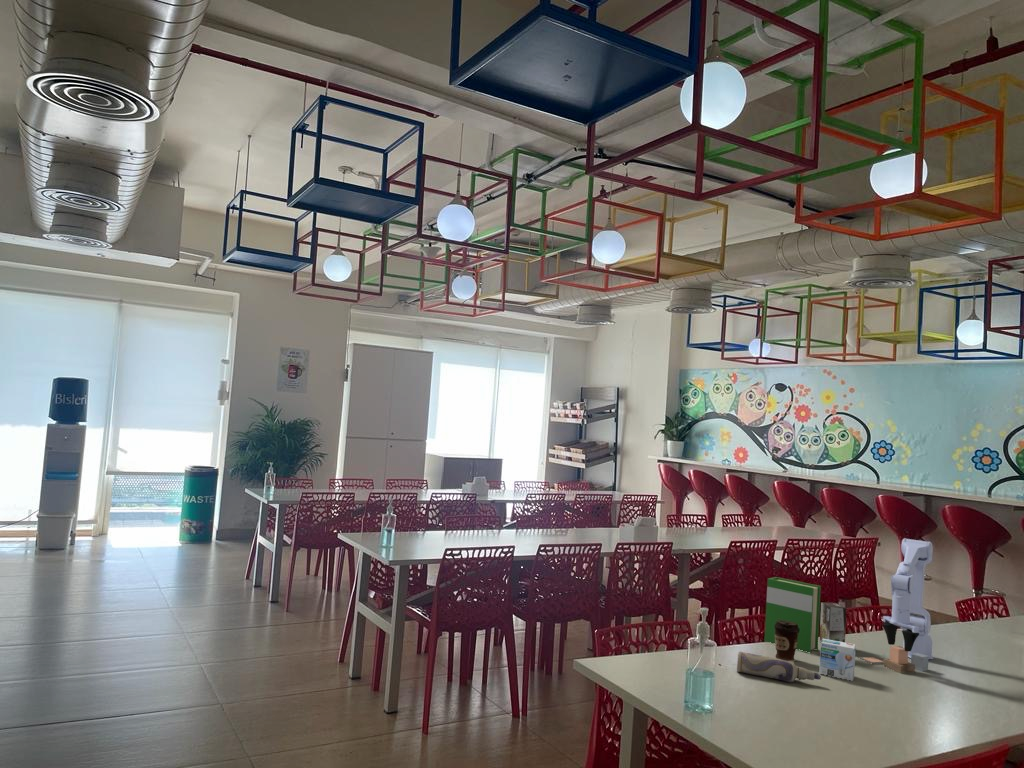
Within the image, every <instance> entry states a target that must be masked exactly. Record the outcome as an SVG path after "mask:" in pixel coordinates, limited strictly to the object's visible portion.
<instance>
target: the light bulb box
mask: <svg viewBox="0 0 1024 768" xmlns="http://www.w3.org/2000/svg"><path fill="white" fill-rule="evenodd" d="M819 653H820V654H819V666H818V667H819V670H818V671H819V673H818V674H819V675H821V674H824V675H823V676H826V675H828V676H827V677H831V676H832V678H835V677H837V678H836V679H840V678H842V679H841V680H844V679H847V680H846V681H849V680H851V681H850V682H853V681H854V678H855V666H856V665H855V663H856V644H855V643H849V642H846V641H845V642H840V641H834V640H829V639H824V638H823V639H822V642H821V644H820V652H819Z"/></svg>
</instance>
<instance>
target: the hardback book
mask: <svg viewBox="0 0 1024 768" xmlns="http://www.w3.org/2000/svg"><path fill="white" fill-rule="evenodd" d="M766 583H767V584H766V585H767V586H766V587H767V588H766V603H765V623H764V625H765V626H764V639H763V640H764V642H765V643H770V642H771V644H773V643H775V627H774V625H775V624H776V622H777V621H778V620H783V621H789V622H794V623H796V624H798V628H799V629H800V632H799V634H798V642H797V647H796V649H800V650H803V651H807V652H811V651H812V650H813V649H818V650H819V634H820V613H821V590H822V589H821V585H819V584H818V585H817V584H812V583H808V582H807V583H806V582H803V581H798V580H793V579H787V578H783V577H777V576H775V577H769V578H767V581H766ZM803 651H802V652H803ZM807 652H806V653H807ZM811 653H812V652H811Z"/></svg>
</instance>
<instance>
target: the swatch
mask: <svg viewBox="0 0 1024 768" xmlns="http://www.w3.org/2000/svg"><path fill="white" fill-rule="evenodd" d="M859 658H860V659H859ZM857 659H859V660H861V659H862V661H863V660H865V661H864V662H866V661H867V662H866V663H868V662H869V663H868V664H870V663H872V664H871V665H884V660H881V659H880V658H877V657H876V656H875V657H874V656H865V657H864V656H858V657H857Z"/></svg>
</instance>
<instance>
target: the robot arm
mask: <svg viewBox="0 0 1024 768" xmlns="http://www.w3.org/2000/svg"><path fill="white" fill-rule="evenodd" d="M900 547H901V548H900V549H901V553H902V556H903V558H904V559H903V561H900V562H899V565H898V567H897V570H896V572H895V574H893V575H891V578H890V589H891V595H892V601H891V602H892V604H891V616H888V615H882V623H881V625H882V628H883V630H884V633H885V635H886V638H887V639H886V640H887V644H888V645H890V646H895V643H896V637H897V636H896V635H897V631H898V628H900V629H902V630H901V633H902V636H903V643H902V644H903V645H902V647H903V648H905V651H908V659H909V658H910V659H911V654H914V653H920V654H923V655H927V656H928V660H934V657H933V639H932V637H931V635H930V632H931V628H932V626H931V625H932V622H931V614H930V612H929V611H928V610H927V609H925V608H924V607H923V606H924V605H923V603H924V591H925V590H924V589H925V574H926V572H925V571H926V566H927V565H928V564H931V563H932V560H933V551H934V548H933V543H932V542H931V541H925V540H919V539H917V540H916V539H912V538H911V539H910V538H906V537H904V538H903V539H902V540H901V546H900ZM883 622H884V623H883Z"/></svg>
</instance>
